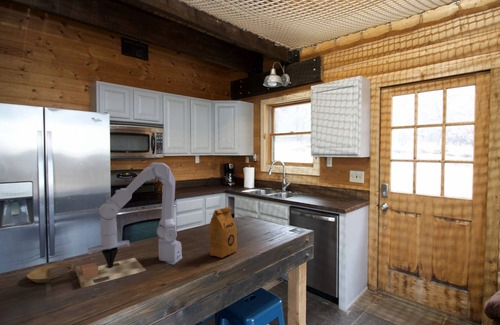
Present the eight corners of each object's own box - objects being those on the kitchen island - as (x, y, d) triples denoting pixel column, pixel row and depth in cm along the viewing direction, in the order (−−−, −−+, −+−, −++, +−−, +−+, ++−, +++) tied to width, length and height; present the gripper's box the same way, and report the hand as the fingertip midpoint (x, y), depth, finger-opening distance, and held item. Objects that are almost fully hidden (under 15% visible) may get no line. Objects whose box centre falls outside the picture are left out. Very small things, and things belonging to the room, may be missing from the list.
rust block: (96, 272, 107) (96, 262, 107) (98, 276, 103) (98, 266, 103) (81, 275, 104) (81, 265, 104) (83, 280, 100) (82, 269, 100)
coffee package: (240, 252, 130) (239, 207, 129) (221, 260, 120) (221, 211, 120) (225, 248, 136) (224, 204, 135) (206, 255, 127) (206, 208, 126)
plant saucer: (50, 268, 115) (49, 262, 115) (82, 269, 113) (82, 263, 113) (16, 285, 100) (16, 278, 100) (53, 286, 99) (52, 279, 99)
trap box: (134, 260, 122) (134, 253, 122) (146, 273, 108) (146, 265, 108) (76, 274, 108) (75, 266, 108) (81, 291, 95) (81, 282, 95)
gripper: (125, 228, 115) (127, 259, 116) (86, 234, 106) (87, 269, 107) (130, 231, 109) (131, 264, 110) (88, 239, 101) (90, 275, 101)
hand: (110, 267), depth 108 cm, fingers closed
